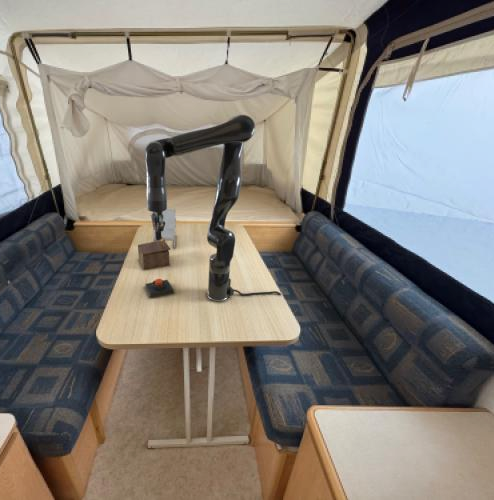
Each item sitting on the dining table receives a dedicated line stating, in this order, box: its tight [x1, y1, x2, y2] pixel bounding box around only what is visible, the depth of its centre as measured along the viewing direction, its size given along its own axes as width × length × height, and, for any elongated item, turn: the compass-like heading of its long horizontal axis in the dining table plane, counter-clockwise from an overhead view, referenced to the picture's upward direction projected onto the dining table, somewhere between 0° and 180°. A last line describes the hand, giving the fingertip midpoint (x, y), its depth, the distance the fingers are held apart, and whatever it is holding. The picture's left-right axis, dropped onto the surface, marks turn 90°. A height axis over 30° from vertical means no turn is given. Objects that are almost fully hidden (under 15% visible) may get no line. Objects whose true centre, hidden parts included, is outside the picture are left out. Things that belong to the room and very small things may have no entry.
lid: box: [137, 236, 171, 255], centre depth 147 cm, size 15×13×5 cm
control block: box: [144, 279, 174, 299], centre depth 126 cm, size 11×9×4 cm
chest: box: [137, 246, 170, 271], centre depth 150 cm, size 15×13×9 cm
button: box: [154, 278, 164, 286], centre depth 125 cm, size 4×4×2 cm
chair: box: [152, 208, 177, 249], centre depth 174 cm, size 13×25×20 cm, turn 1°
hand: (158, 239), depth 109 cm, fingers closed
